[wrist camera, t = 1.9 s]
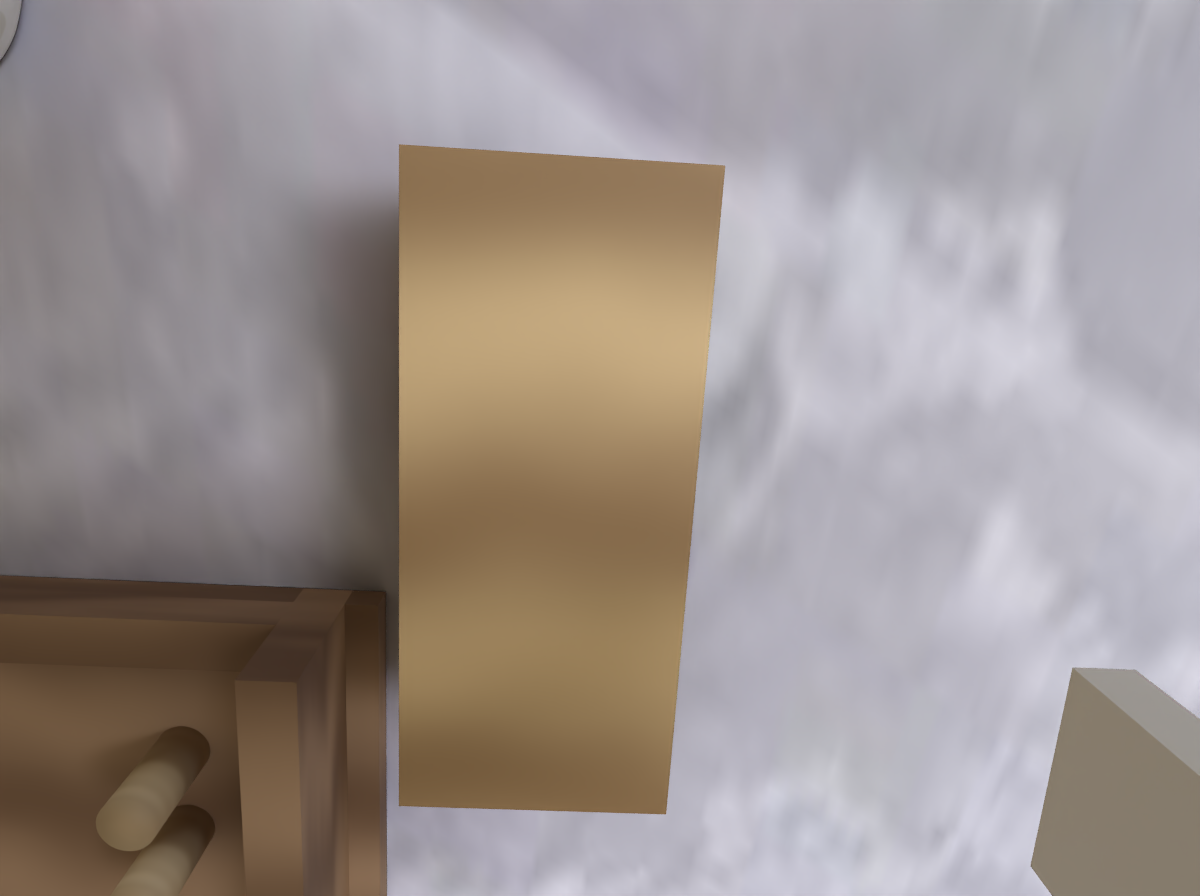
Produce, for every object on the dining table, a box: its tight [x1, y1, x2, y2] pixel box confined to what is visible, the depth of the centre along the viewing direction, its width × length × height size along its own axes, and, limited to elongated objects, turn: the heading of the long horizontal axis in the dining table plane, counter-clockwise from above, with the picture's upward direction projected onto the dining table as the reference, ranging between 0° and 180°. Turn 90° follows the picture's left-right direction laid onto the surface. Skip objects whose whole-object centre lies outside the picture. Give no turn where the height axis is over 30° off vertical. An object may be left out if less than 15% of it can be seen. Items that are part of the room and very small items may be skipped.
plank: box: [399, 145, 725, 814], centre depth 19 cm, size 14×6×4 cm, turn 177°
